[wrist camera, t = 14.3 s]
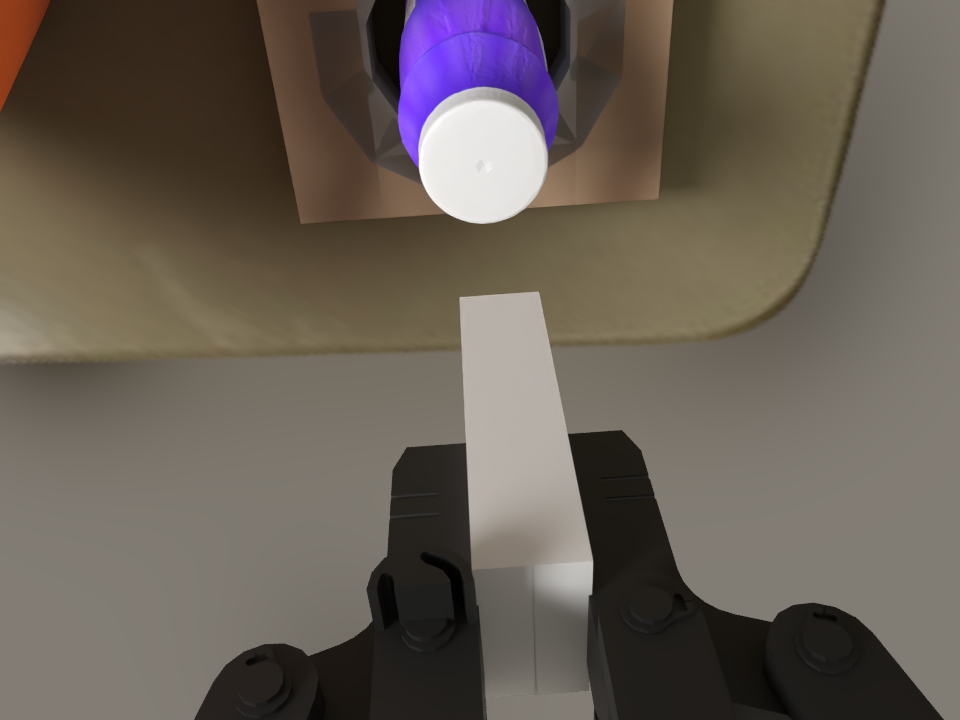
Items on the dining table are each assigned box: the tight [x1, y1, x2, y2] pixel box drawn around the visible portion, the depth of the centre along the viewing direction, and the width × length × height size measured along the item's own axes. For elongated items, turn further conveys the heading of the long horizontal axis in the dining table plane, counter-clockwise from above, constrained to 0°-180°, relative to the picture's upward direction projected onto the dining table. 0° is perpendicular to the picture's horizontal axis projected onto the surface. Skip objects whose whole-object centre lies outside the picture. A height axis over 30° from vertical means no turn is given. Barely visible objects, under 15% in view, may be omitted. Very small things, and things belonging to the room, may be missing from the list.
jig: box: [257, 0, 673, 224], centre depth 38 cm, size 18×16×4 cm
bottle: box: [398, 0, 559, 224], centre depth 32 cm, size 7×6×17 cm
